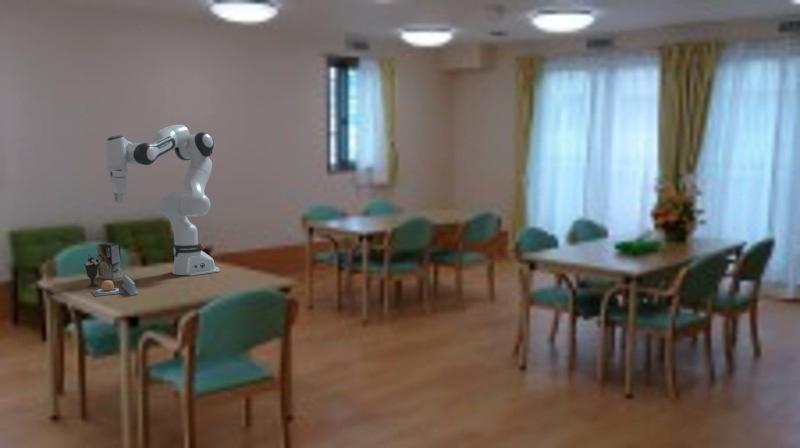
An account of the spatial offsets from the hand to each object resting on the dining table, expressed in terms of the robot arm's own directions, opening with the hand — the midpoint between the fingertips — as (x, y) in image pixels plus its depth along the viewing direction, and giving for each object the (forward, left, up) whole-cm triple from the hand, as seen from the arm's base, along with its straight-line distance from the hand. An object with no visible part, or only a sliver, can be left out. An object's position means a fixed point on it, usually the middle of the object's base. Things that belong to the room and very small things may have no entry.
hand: (118, 202), depth 345 cm
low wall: (0, +18, -37) cm, 41 cm away
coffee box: (+3, -16, -37) cm, 41 cm away
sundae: (+13, +1, -37) cm, 40 cm away
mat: (+9, +18, -37) cm, 42 cm away
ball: (+9, +18, -34) cm, 40 cm away
